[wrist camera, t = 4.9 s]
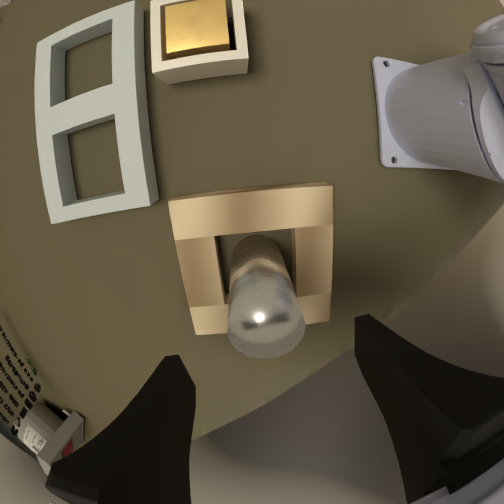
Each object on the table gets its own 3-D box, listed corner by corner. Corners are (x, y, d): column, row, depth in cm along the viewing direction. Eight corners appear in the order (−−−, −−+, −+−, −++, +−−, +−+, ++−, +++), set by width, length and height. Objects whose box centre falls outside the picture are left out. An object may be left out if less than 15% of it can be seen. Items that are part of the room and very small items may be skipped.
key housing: (240, 10, 13) (240, -14, 10) (246, 73, 15) (248, 58, 12) (164, 22, 13) (150, 1, 10) (168, 84, 15) (152, 72, 12)
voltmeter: (110, 443, 30) (96, 495, 21) (58, 432, 30) (41, 475, 21) (11, 296, 20) (-43, 352, 11) (-32, 300, 20) (-74, 342, 11)
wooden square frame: (325, 181, 18) (332, 185, 16) (324, 310, 21) (329, 321, 20) (173, 196, 18) (168, 201, 16) (198, 323, 21) (196, 334, 20)
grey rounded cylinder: (280, 232, 19) (305, 293, 12) (282, 278, 20) (304, 354, 13) (228, 237, 19) (222, 302, 12) (234, 283, 20) (232, 362, 13)
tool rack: (143, 11, 12) (134, 0, 10) (159, 198, 18) (150, 205, 16) (51, 48, 12) (37, 43, 10) (65, 216, 18) (51, 224, 16)
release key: (226, 17, 13) (224, -3, 10) (230, 59, 14) (229, 43, 11) (175, 25, 12) (165, 6, 10) (178, 66, 14) (166, 53, 11)
